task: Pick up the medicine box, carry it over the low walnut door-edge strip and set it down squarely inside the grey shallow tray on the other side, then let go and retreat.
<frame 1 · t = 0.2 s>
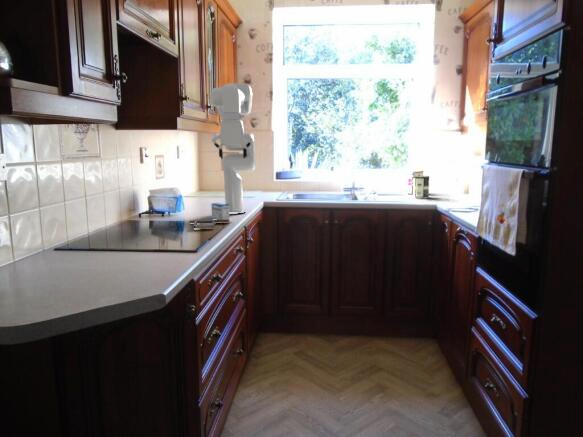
hand: (233, 158, 193), 31 cm above the counter, tool pointing down, fingers open, 9 cm apart
grey shallow tray: (204, 227, 201), on the counter
medicine box: (220, 221, 217), on the counter
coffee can: (420, 197, 297), on the counter
candy bar box: (414, 194, 318), on the counter
door-edge strip: (209, 224, 209), on the counter
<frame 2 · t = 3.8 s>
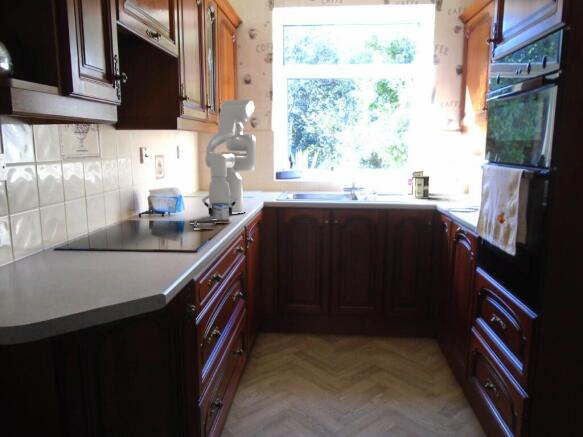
hand: (220, 215, 216), 3 cm above the counter, tool pointing down, fingers closed on medicine box, 8 cm apart
medicine box: (220, 221, 217), on the counter, touching gripper
everything else where it was.
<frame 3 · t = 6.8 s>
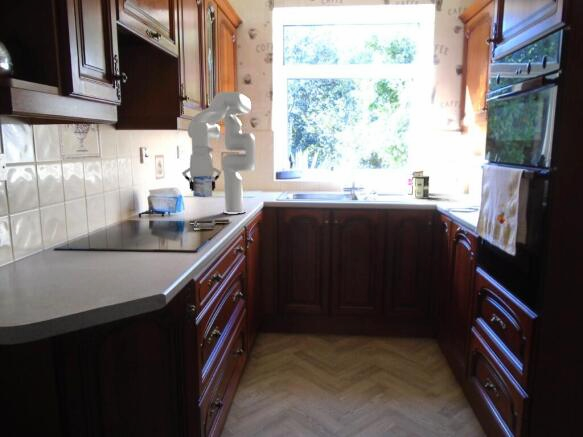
hand: (202, 190, 199), 17 cm above the counter, tool pointing down, fingers closed on medicine box, 8 cm apart
medicine box: (203, 196, 199), point 14 cm above the counter, touching gripper
everything else where it was.
when the fingers open (5 cm above the counter, at t = 9.9 s): medicine box stays where it is, resting on grey shallow tray.
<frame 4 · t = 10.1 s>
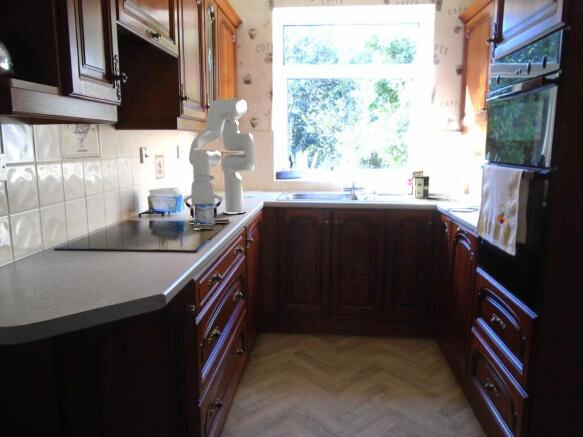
hand: (203, 217, 201), 5 cm above the counter, tool pointing down, fingers open, 9 cm apart
medicine box: (204, 223, 201), point 2 cm above the counter, touching grey shallow tray
everything else where it was.
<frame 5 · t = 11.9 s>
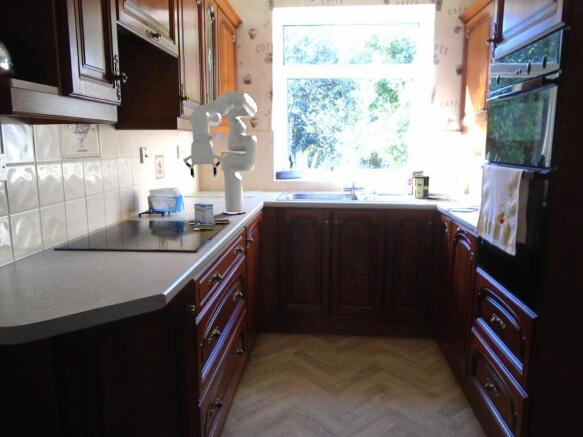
hand: (204, 176, 206), 22 cm above the counter, tool pointing down, fingers open, 9 cm apart
nothing on the counter moved.
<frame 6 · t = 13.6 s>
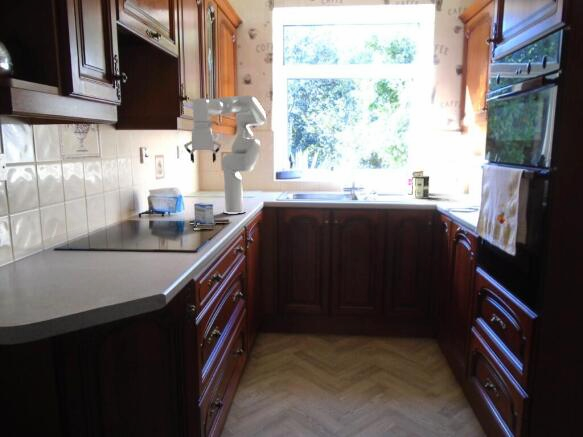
hand: (203, 162, 213), 28 cm above the counter, tool pointing down, fingers open, 9 cm apart
nothing on the counter moved.
at the end: medicine box 0.1 cm off-centre on the grey shallow tray, point 1.8 cm above the grey shallow tray's base; medicine box tilted 0°; the gripper is holding nothing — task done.
